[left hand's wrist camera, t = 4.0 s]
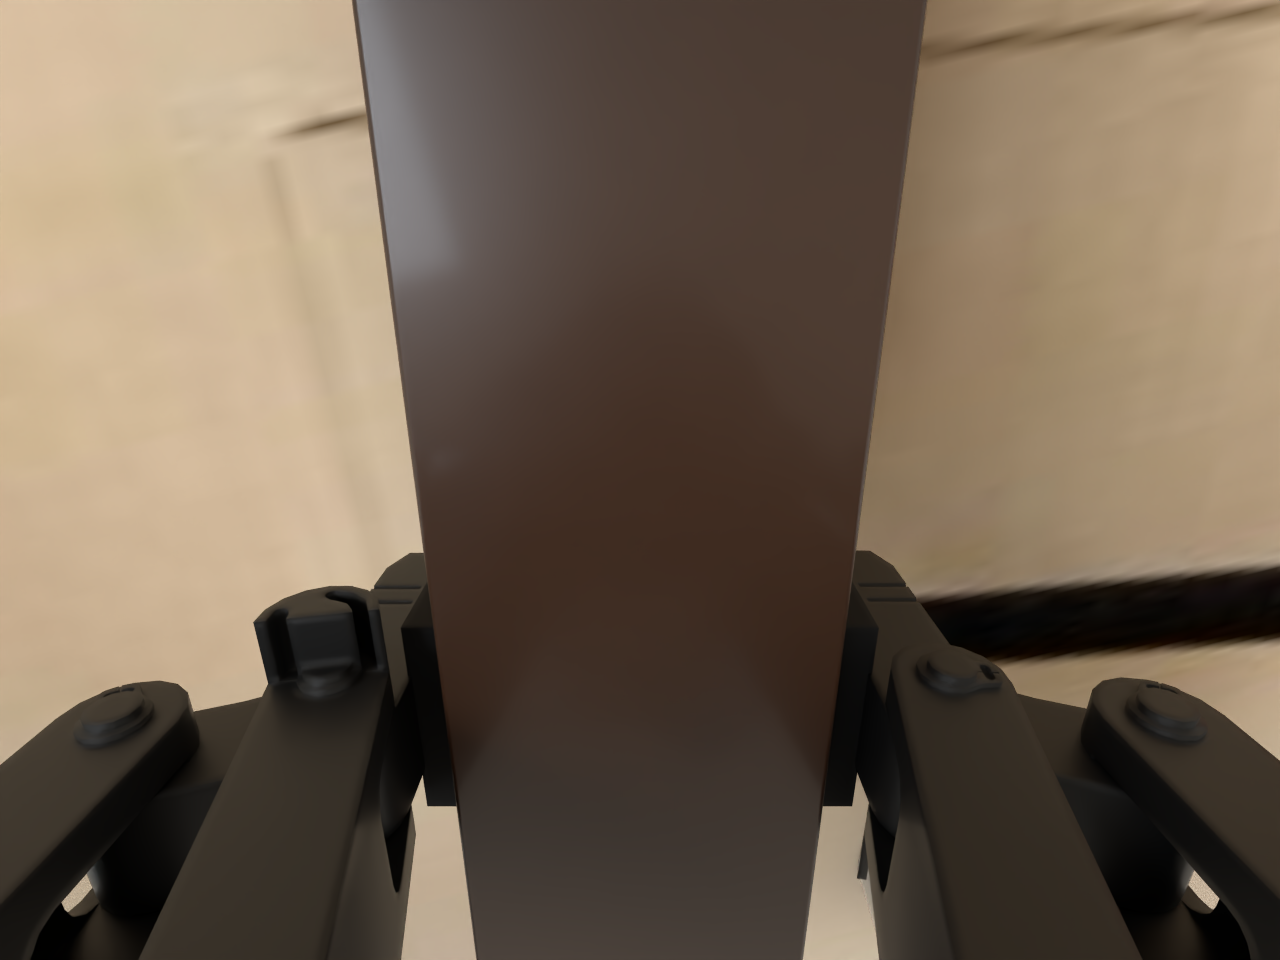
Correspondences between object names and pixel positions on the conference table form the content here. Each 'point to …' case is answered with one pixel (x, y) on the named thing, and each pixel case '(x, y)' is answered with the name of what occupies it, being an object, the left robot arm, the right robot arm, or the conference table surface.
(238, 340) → the conference table surface
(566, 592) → the bar
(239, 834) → the left robot arm
